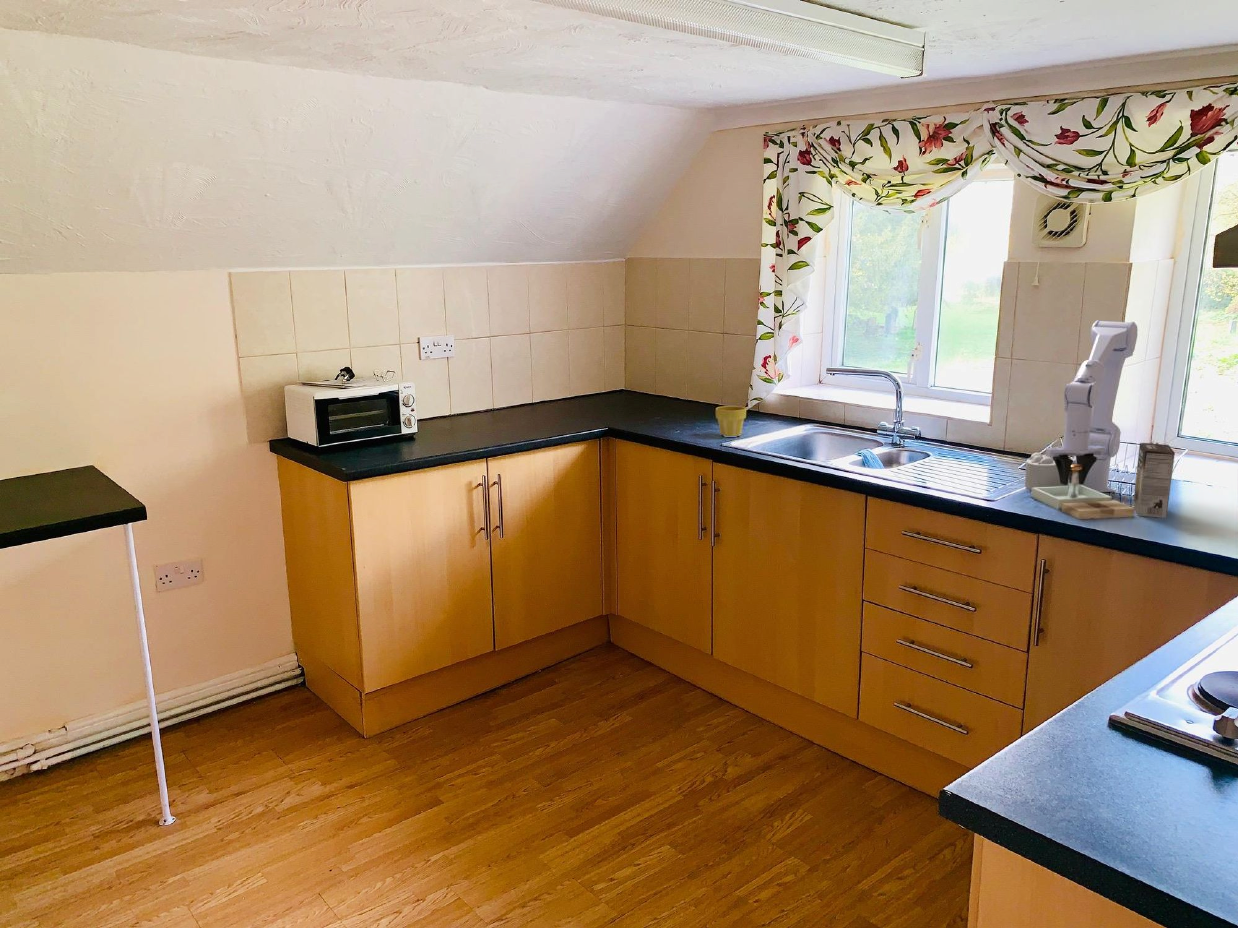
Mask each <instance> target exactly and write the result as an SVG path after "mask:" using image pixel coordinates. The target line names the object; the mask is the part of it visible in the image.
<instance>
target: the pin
mask: <svg viewBox="0 0 1238 928" xmlns="http://www.w3.org/2000/svg"><path fill="white" fill-rule="evenodd" d="M1081 469H1083V465H1080V464H1072V465H1071V468H1070V472H1069V480H1068V497H1069V498H1078V492H1079V470H1081Z"/></svg>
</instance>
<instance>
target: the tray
mask: <svg viewBox="0 0 1238 928" xmlns="http://www.w3.org/2000/svg"><path fill="white" fill-rule="evenodd" d="M1030 492H1031V493H1030V498H1032V499H1035V500H1037V501H1038V502H1041V503H1042V504H1045V505H1047V506H1050V507H1051V508H1054V509H1056V510H1062V505H1063V503H1079V502H1099V501H1113V497H1112V496H1111V495H1108V494H1105V493H1104V492H1098V491H1095V490H1093V489H1090V488H1088V487H1085V486H1083V485H1079V492H1078V498H1069V497H1068V486H1056V487H1035V488H1032V489H1031V490H1030Z"/></svg>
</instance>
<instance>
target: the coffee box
mask: <svg viewBox="0 0 1238 928" xmlns="http://www.w3.org/2000/svg"><path fill="white" fill-rule="evenodd" d="M1138 447H1139V448H1138V457H1137V467H1136V477H1135V483H1134V484H1135V485H1134V493H1133V502H1132V503H1133V504H1132V507H1133V508H1135V511H1134V512H1135V513H1136V515H1137V516H1140V517H1149V518H1151V517H1152V518H1161V519H1162V518H1163V519H1166V518H1167V516H1168V509H1169V507H1168V506H1169V499H1170V495H1171V494H1170V493H1171V486H1172V478H1173V470H1174V463H1175V454H1176V452H1175V451H1174V450H1173V449H1172V447H1171V446H1170V445H1169V444H1161V443H1151V442H1140V443H1139V446H1138Z"/></svg>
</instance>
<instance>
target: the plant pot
mask: <svg viewBox="0 0 1238 928" xmlns="http://www.w3.org/2000/svg"><path fill="white" fill-rule="evenodd" d="M715 418H716V419H717V423H718V426H719V431H720V432H719V433H720V435H721V434H722V435H725V436H739V435H741V436H742V430H743V425H744V421H745V419H746V418H747V407H744V406H738V405H723V406H718V407H716V408H715Z"/></svg>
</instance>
